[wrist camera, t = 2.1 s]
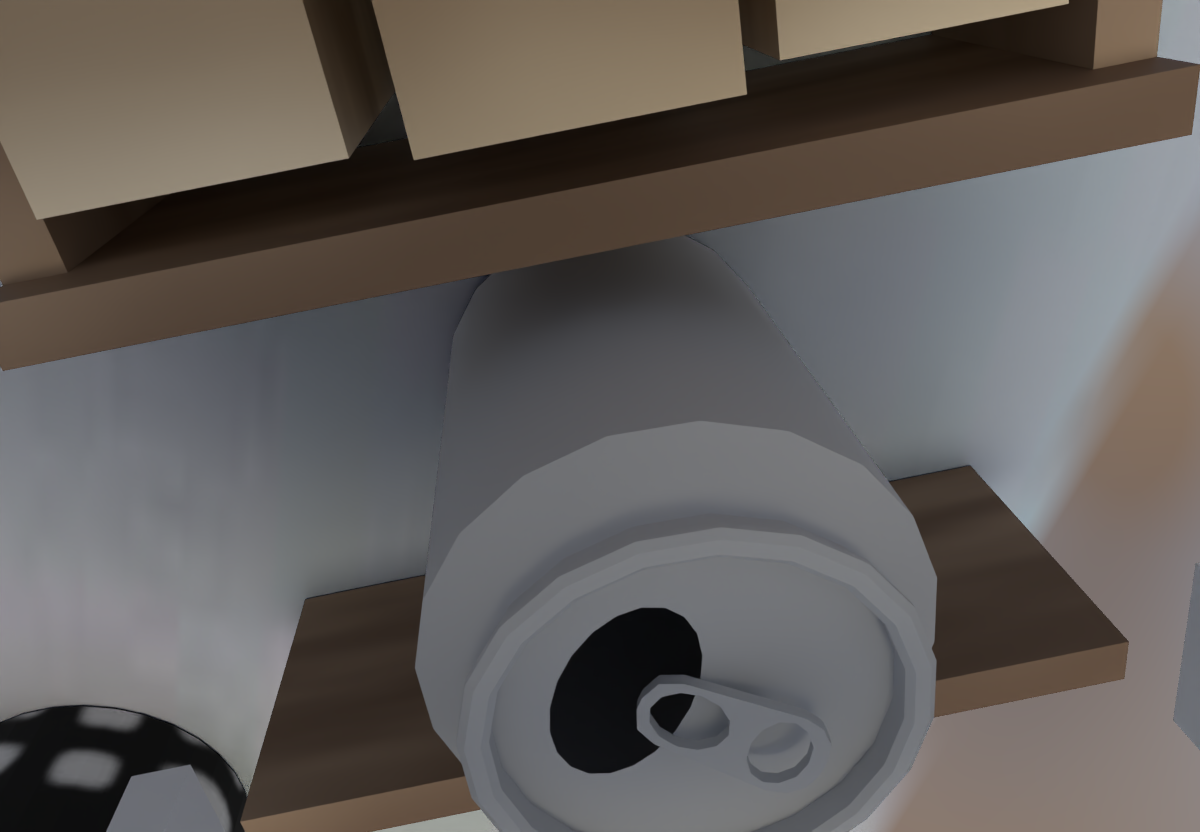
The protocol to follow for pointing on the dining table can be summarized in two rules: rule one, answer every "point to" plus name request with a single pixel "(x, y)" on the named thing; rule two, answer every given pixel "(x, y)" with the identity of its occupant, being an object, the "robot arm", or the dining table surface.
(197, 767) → the spotted tube
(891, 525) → the can
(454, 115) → the offcut block
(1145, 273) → the dining table surface
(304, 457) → the dining table surface
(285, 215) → the rack
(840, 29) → the offcut block
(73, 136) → the offcut block
